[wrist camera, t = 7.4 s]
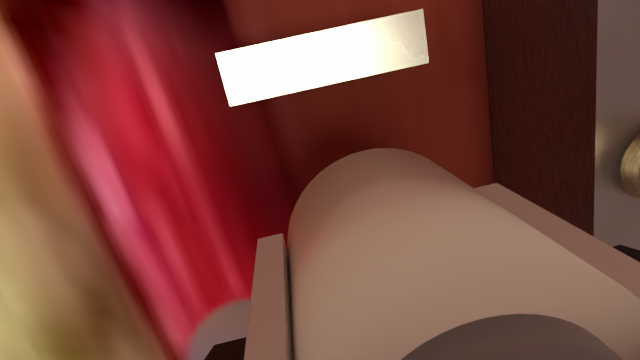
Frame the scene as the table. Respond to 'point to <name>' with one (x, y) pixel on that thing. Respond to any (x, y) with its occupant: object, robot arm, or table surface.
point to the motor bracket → (505, 96)
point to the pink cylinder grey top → (439, 274)
